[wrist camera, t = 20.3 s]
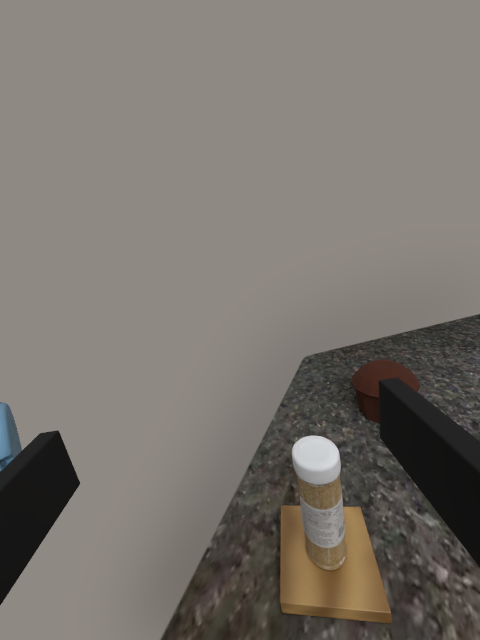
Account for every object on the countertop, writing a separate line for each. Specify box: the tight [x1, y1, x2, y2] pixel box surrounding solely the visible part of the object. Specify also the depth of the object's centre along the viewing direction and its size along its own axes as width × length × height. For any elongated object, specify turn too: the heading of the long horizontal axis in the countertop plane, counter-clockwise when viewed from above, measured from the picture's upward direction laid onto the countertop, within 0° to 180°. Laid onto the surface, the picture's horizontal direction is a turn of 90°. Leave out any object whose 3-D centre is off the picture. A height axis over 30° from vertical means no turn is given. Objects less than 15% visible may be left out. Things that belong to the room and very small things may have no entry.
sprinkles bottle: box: [292, 436, 347, 570], centre depth 27 cm, size 5×5×13 cm
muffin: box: [352, 360, 420, 424], centre depth 50 cm, size 12×11×10 cm
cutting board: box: [280, 505, 391, 623], centre depth 29 cm, size 10×10×2 cm
